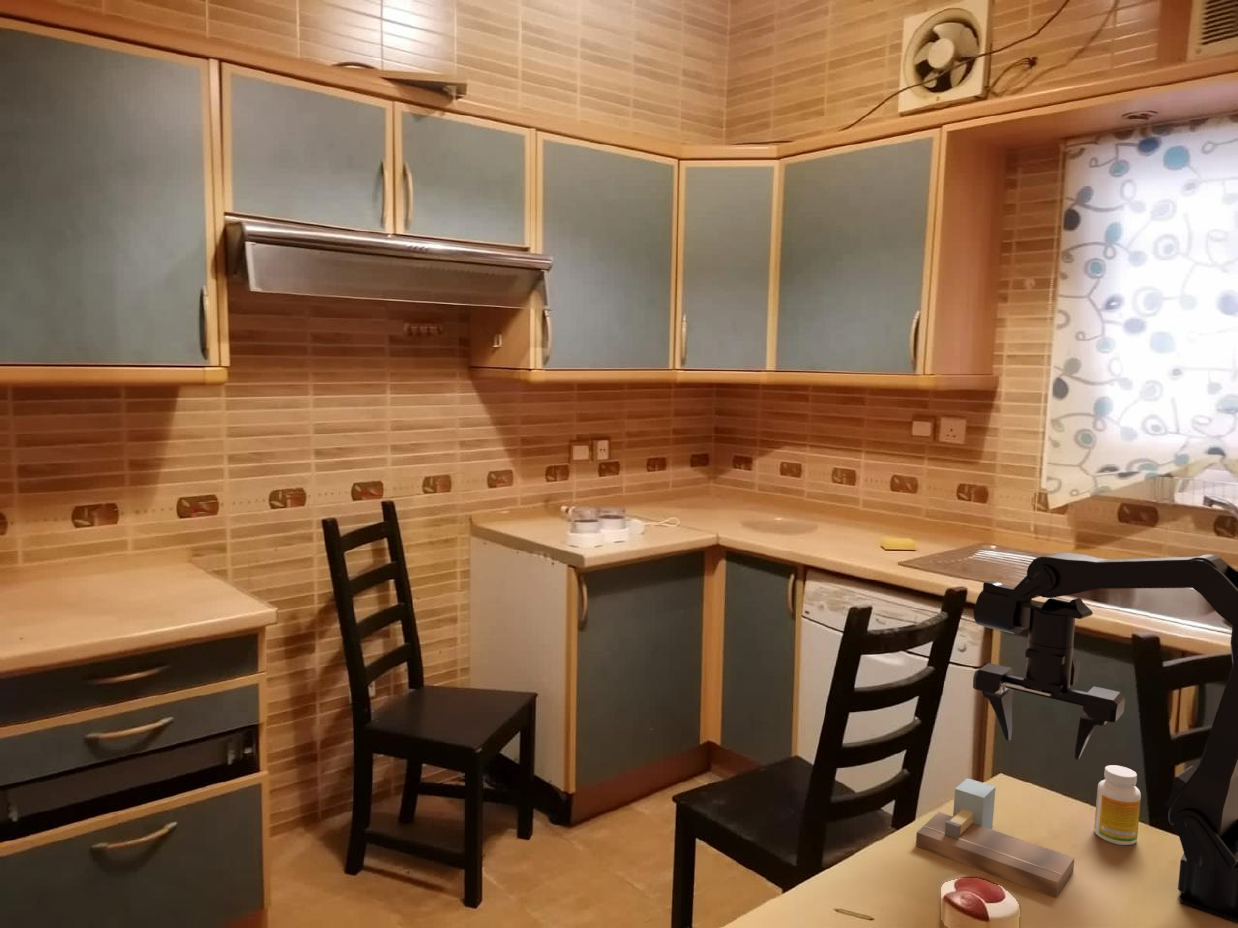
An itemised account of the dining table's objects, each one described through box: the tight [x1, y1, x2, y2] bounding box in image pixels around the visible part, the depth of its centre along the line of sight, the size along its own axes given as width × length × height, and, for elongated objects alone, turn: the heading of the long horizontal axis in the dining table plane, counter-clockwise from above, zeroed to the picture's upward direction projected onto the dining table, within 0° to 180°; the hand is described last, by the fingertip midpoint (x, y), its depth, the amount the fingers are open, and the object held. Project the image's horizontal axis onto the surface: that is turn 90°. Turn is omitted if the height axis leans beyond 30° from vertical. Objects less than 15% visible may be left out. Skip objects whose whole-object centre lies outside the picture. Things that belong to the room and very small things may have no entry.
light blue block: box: [945, 778, 996, 839], centre depth 126 cm, size 4×11×6 cm, turn 140°
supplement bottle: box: [1093, 764, 1142, 846], centre depth 127 cm, size 5×5×10 cm
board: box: [915, 811, 1075, 898], centre depth 121 cm, size 18×8×2 cm, turn 50°
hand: (1042, 749), depth 128 cm, fingers open, 9 cm apart
